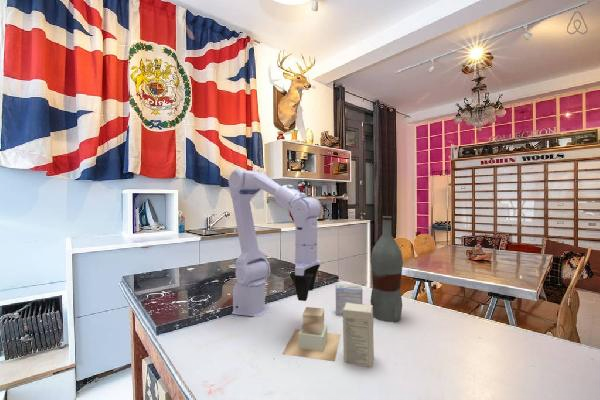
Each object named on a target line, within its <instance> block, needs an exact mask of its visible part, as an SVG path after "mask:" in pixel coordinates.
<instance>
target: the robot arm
mask: <svg viewBox="0 0 600 400" xmlns="http://www.w3.org/2000/svg"><path fill="white" fill-rule="evenodd" d="M227 181H228V186H229V187H228V188H229V192H230V198H231V202H232V206H233V213H234V218H235V223H236V230H237V235H238V240H239V246H240V251H241V254H240V255H239V257H237V258H236V260H235V279H236V280H237V281H236V283H235V284H234V287H233V291H232V312H231V314H232V315H238V316H244V317H245V316H247V317H259V318H260V317H262V316H263V315H264V314H265V312H266V311H267V310H269V308H270V304H268V305H267V304H266V282H267V280H268V278H269V276H270V275H271V266H270V263H269V261H268V260H267V255H266V254H265V253H264V252H262V251H261V250H260V248H259V245H258V244H259V243H258V238H257V233H256V228H255V223H254V218H253V212H252V206H251V201H252V199H253V198H255V196H257V194H258V193H259V192H260V191H261V190H262V191H264V192H266V193H268V194H269V195H271V196H273V197H274V200H275V202H276V204H278V205H280V206H282V207H283V208H284V209H286V210H288V211H289V212H290V214H291V216H292V218H293V225H294V227H295V230H294V232H295V242H294V243H295V245H294V247H295V249H294V251H295V253H294V258H295V259H294V265H295V268H294V271H291V272H290V273H289V277H290V278H291V280H292V282H293V285H294V288H295V293H296V296H297V297H296V298H297V300H298V301H302V302H307V300H308V296H309V291H314V287H315V282H316V278H317V273H318V271H319V269H320V267H321V264H323V263H322V260H320V259H318V219H319V217H320V216H321V215H322V212H323V207H322V203H321V201H320V200H319V199H318V198H317V197H316V196H310V197H308V196H307V194H306V193H304V192H299V190H296V189H295V188H294V185H293V184H284V185H280V184H279V183H278V182H276V181H274V180H273V179H272V178H270V177H269V176H267V174H266V173H264V172H262V171H260V170H249V169H248V170H244V169H238V168H237V169H236V168H235V169H233V170H232V171H231V173H230V175H229V177H228V180H227ZM236 306H238V308H237V307H236Z"/></svg>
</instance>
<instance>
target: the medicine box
mask: <svg viewBox="0 0 600 400" xmlns="http://www.w3.org/2000/svg"><path fill="white" fill-rule="evenodd" d="M363 291H364V290H363V288H362V285H361V284H353V283H352V284H351V283H336V284H335V316H342V317H343V308H344V306H345V304H346V303H356V304H363Z"/></svg>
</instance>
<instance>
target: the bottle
mask: <svg viewBox="0 0 600 400" xmlns="http://www.w3.org/2000/svg"><path fill="white" fill-rule="evenodd" d="M392 218H393V217H392V216H389V215H385V216H384V215H383V216H382V229H381V230H382V232H381V233H382V234H381V236H380V237H379V239H378V240H377V241H376V243H375V244H374V246H373V248H372V251H371V256H370V257H371V258H370V266H371V278H372V280H371V282H372V288H371V295H370V305H373V318H375V319H377V320H379V321H383V322H394V323H396V322H398V321H400V319H401V315H402V311H403V300H402V299H403V298H402V291H401V285H402V273H403V265H404V262H403V261H404V260H403V254H402V253H403V252H402V249H401V248H400V246H399V245H398V242H396V240H395V238H394V236H393V235H392Z"/></svg>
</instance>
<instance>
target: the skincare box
mask: <svg viewBox="0 0 600 400" xmlns="http://www.w3.org/2000/svg"><path fill="white" fill-rule="evenodd" d="M342 332H343V333H342V334H343V335H342V339H343V340H342V341H343V342H342V343H343V363H345V364H351V365H355V366H360V367H366V368H373V365H374V360H375V356H374V355H375V354H374V353H375V352H374V349H375V348H374V344H375V343H374V342H375V341H374V316H373V305H371V304H366V303H365V304H364V303H362V304H356V303H346V304H345V306H344V308H343V316H342Z"/></svg>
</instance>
